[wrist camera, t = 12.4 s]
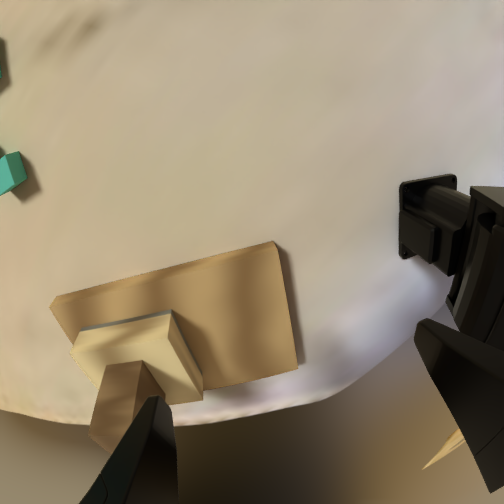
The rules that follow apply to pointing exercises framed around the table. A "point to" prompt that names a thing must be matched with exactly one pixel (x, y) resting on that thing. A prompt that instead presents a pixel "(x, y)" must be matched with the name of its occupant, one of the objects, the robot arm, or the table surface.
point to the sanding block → (135, 370)
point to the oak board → (204, 312)
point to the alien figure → (11, 170)
